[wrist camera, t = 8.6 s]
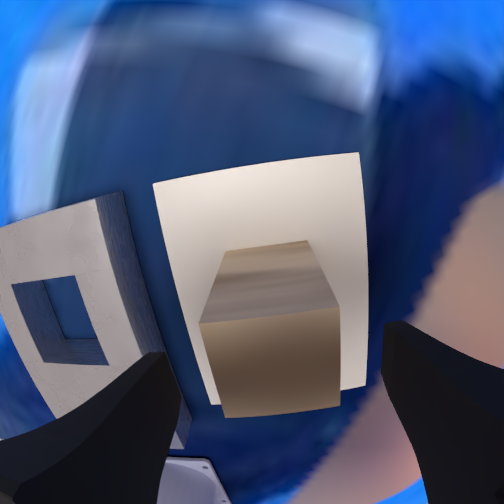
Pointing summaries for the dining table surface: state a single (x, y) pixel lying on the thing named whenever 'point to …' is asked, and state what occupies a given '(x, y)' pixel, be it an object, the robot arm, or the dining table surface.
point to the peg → (273, 332)
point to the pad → (272, 237)
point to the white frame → (93, 293)
